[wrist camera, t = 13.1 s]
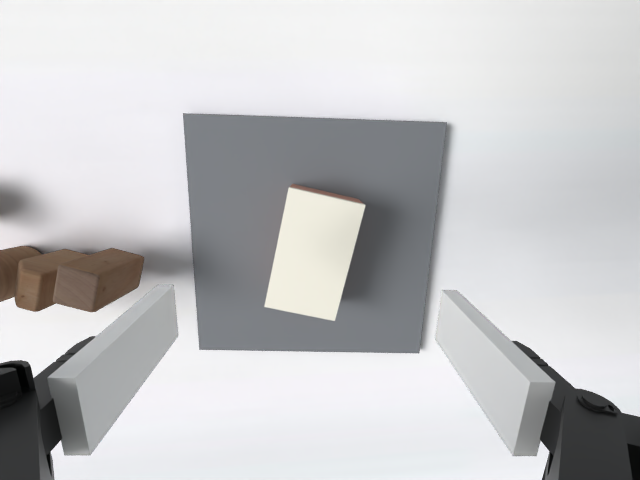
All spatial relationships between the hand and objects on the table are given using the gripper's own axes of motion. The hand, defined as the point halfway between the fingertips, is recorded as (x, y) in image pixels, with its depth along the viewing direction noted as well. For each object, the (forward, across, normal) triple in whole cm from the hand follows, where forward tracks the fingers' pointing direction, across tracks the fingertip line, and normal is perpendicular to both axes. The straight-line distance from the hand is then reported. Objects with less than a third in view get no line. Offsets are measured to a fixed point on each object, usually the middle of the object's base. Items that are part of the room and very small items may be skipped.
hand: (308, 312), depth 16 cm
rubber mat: (+15, 0, 0) cm, 15 cm away
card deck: (+14, 0, 0) cm, 14 cm away
